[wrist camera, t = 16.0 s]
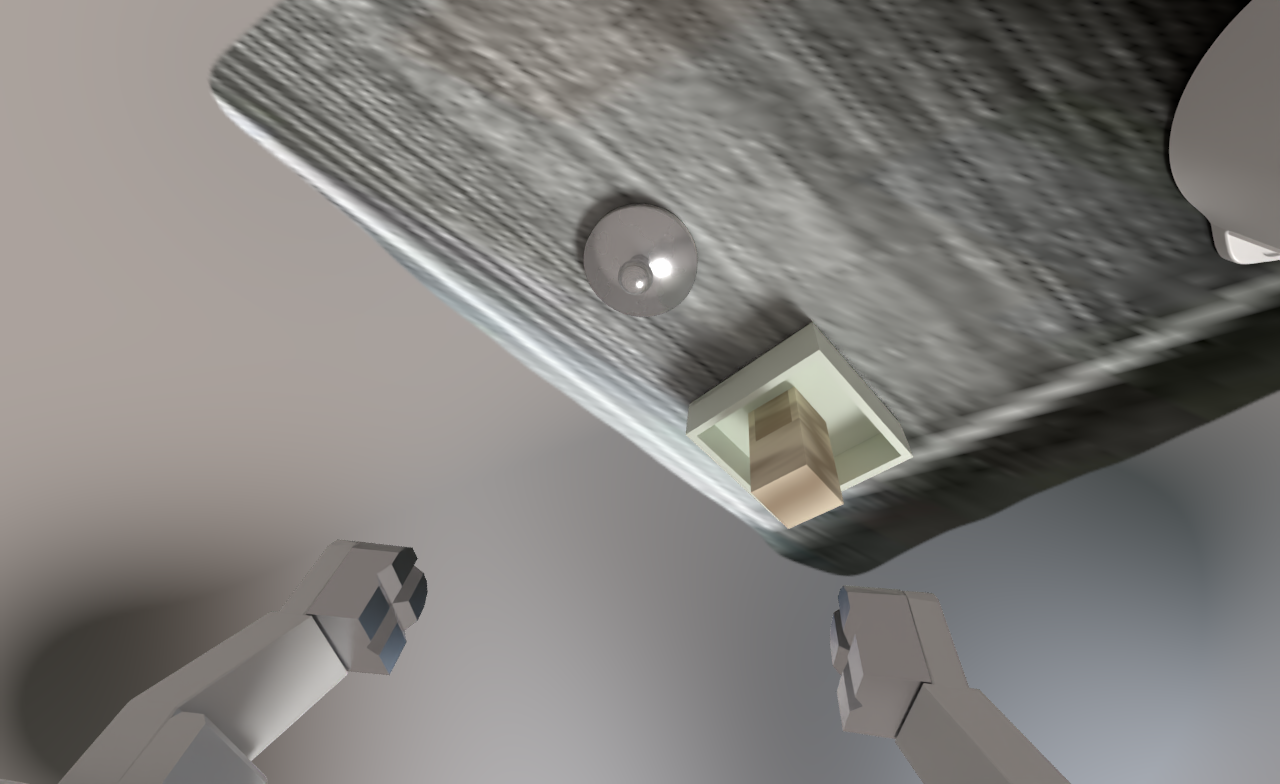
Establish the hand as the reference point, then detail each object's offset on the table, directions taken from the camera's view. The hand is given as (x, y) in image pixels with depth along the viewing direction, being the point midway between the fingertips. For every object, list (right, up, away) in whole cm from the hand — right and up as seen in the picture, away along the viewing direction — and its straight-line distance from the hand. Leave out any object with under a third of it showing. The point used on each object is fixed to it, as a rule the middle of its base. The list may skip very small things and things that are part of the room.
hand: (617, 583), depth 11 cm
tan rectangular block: (+12, +2, +34) cm, 37 cm away
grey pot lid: (+1, +13, +29) cm, 32 cm away
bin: (+13, +2, +35) cm, 37 cm away
